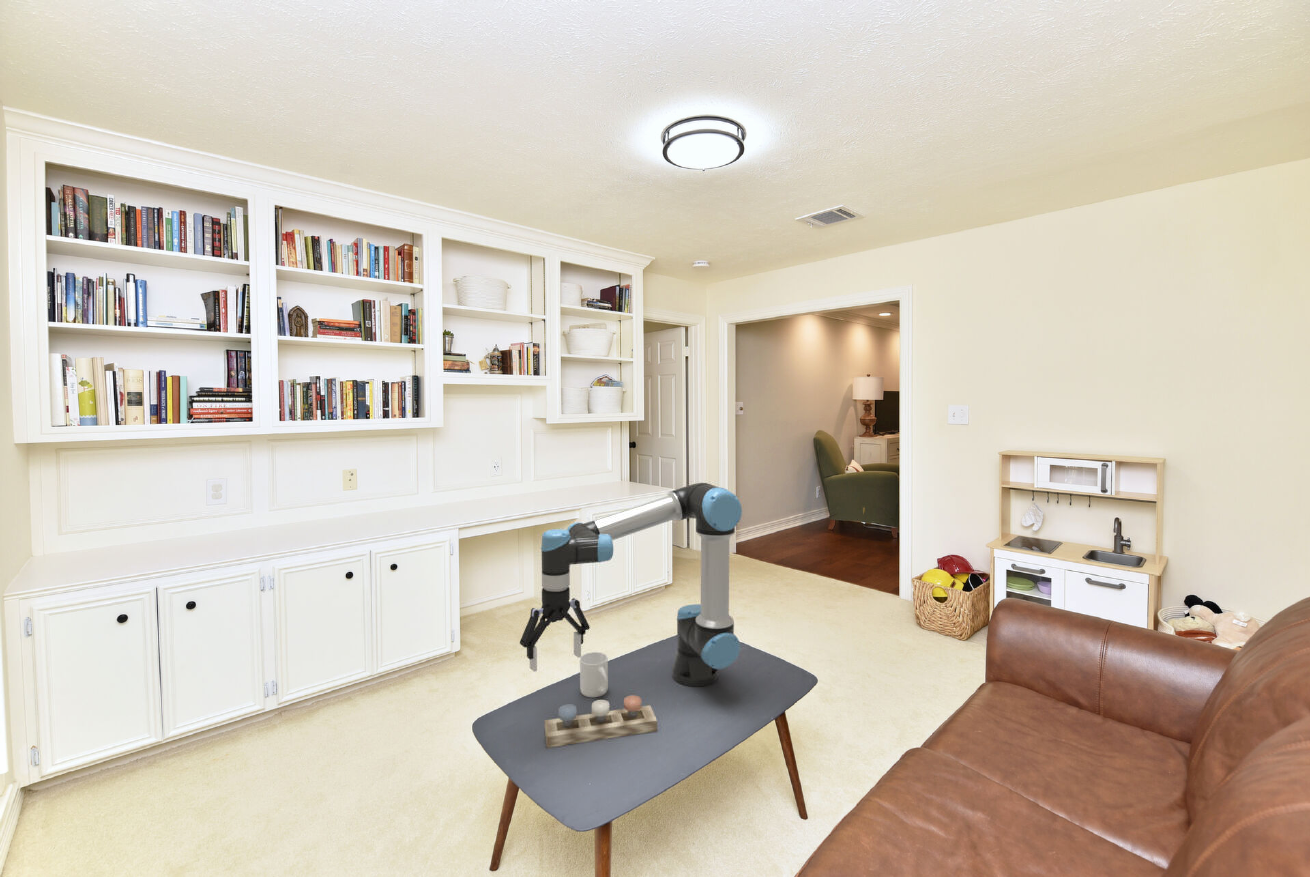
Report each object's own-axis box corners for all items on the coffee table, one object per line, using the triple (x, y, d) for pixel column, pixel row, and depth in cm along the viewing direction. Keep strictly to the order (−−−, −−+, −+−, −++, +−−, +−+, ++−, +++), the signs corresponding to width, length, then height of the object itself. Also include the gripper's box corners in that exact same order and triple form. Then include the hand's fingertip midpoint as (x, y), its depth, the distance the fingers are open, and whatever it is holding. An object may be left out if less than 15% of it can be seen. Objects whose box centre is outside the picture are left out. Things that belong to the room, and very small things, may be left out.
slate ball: (575, 718, 161) (575, 703, 161) (577, 728, 156) (577, 712, 156) (558, 721, 160) (557, 705, 159) (559, 731, 155) (559, 715, 155)
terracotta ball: (639, 709, 165) (639, 694, 165) (642, 718, 161) (642, 703, 160) (622, 712, 164) (622, 696, 164) (625, 721, 160) (625, 705, 159)
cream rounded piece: (607, 714, 163) (607, 698, 163) (610, 723, 159) (610, 707, 158) (590, 716, 162) (590, 701, 162) (593, 726, 157) (593, 710, 157)
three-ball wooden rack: (650, 715, 168) (650, 705, 168) (657, 730, 160) (657, 720, 160) (544, 730, 161) (544, 720, 160) (546, 747, 153) (546, 737, 153)
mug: (594, 706, 173) (593, 671, 172) (575, 689, 183) (575, 656, 182) (618, 697, 178) (618, 663, 177) (599, 681, 188) (598, 649, 187)
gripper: (587, 575, 169) (587, 645, 171) (506, 592, 154) (507, 670, 155) (601, 581, 163) (601, 655, 165) (519, 600, 148) (519, 681, 149)
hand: (555, 662), depth 160 cm, fingers open, 13 cm apart
